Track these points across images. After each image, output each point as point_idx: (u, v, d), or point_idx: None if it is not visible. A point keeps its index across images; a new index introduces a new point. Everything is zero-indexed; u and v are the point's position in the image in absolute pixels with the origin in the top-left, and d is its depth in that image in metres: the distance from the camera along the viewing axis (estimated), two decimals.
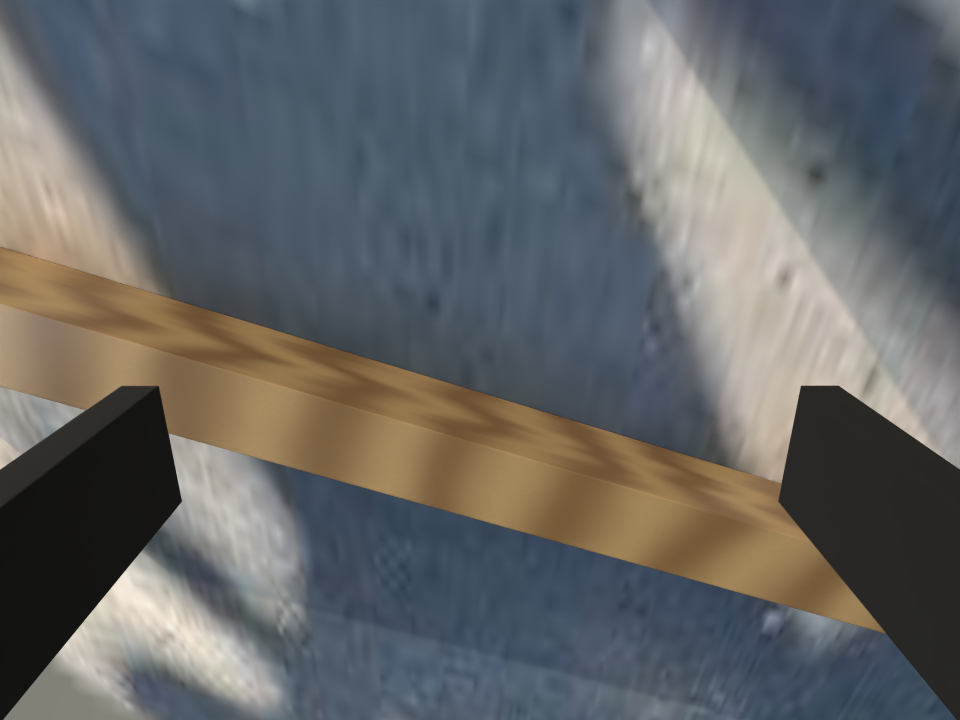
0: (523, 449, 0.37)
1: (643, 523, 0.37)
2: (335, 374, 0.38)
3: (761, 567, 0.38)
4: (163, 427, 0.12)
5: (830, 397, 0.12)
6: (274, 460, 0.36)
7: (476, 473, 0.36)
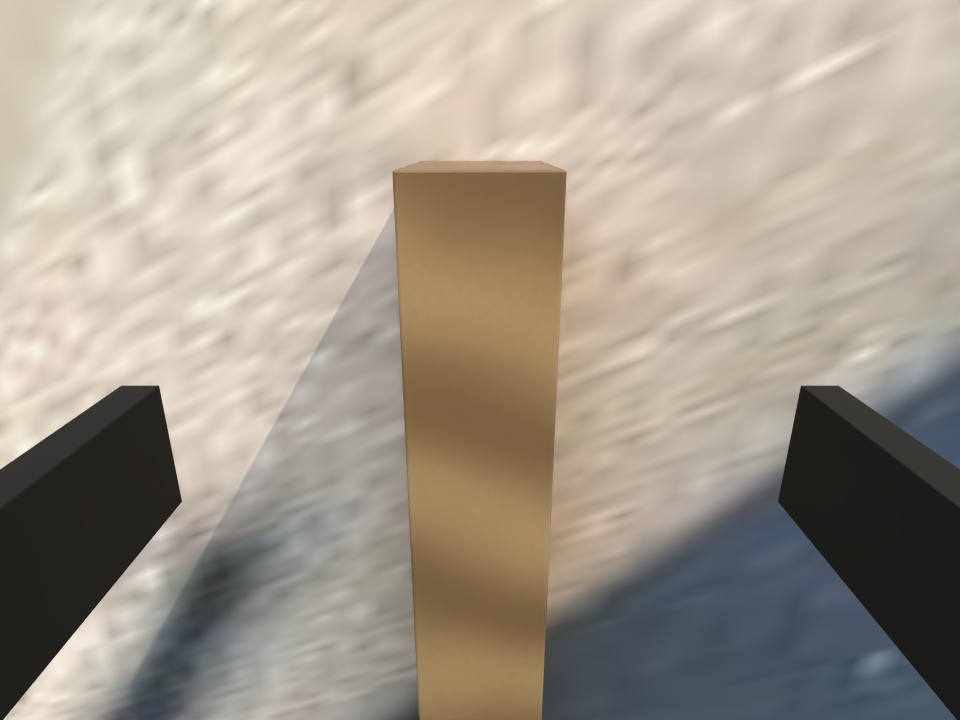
0: None
1: None
2: None
3: None
4: (162, 427, 0.12)
5: (830, 397, 0.12)
6: None
7: None
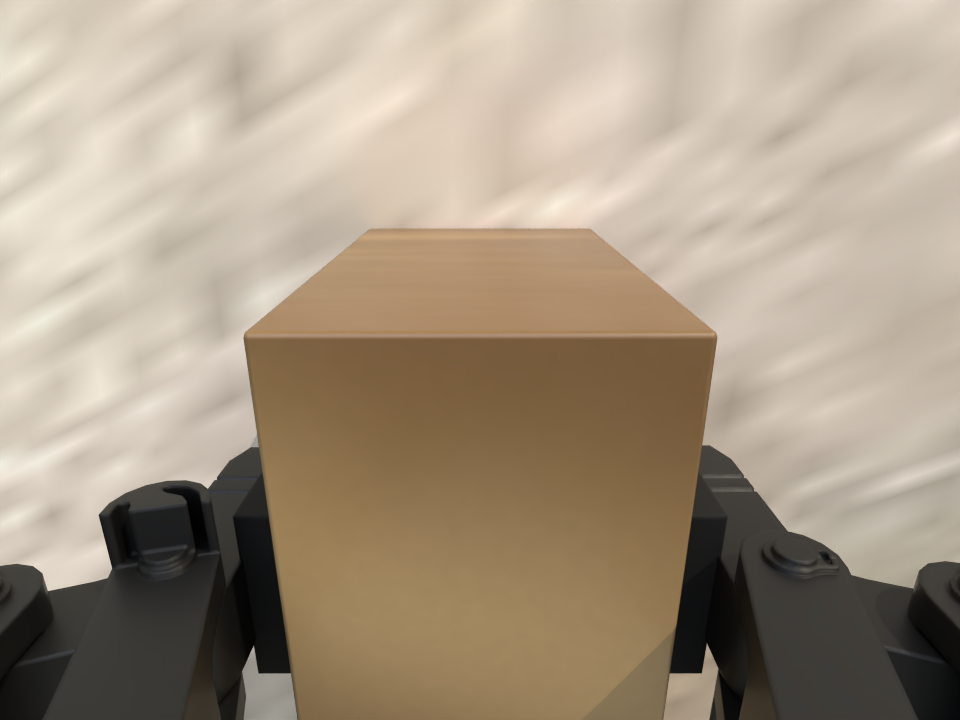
0: None
1: None
2: None
3: None
4: None
5: None
6: None
7: None
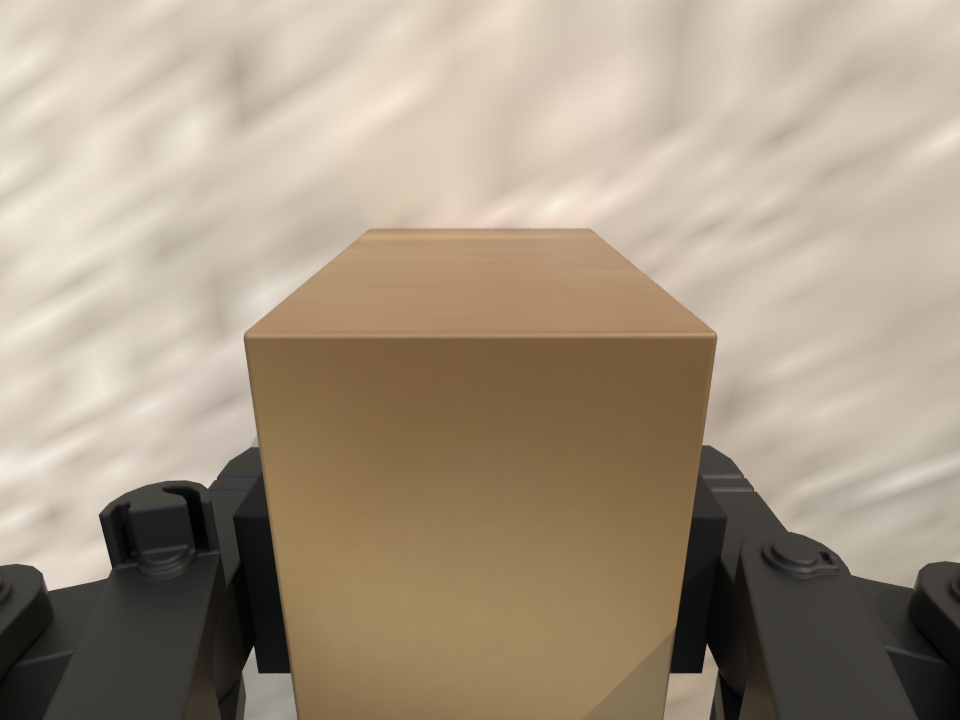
0: None
1: None
2: None
3: None
4: None
5: None
6: None
7: None
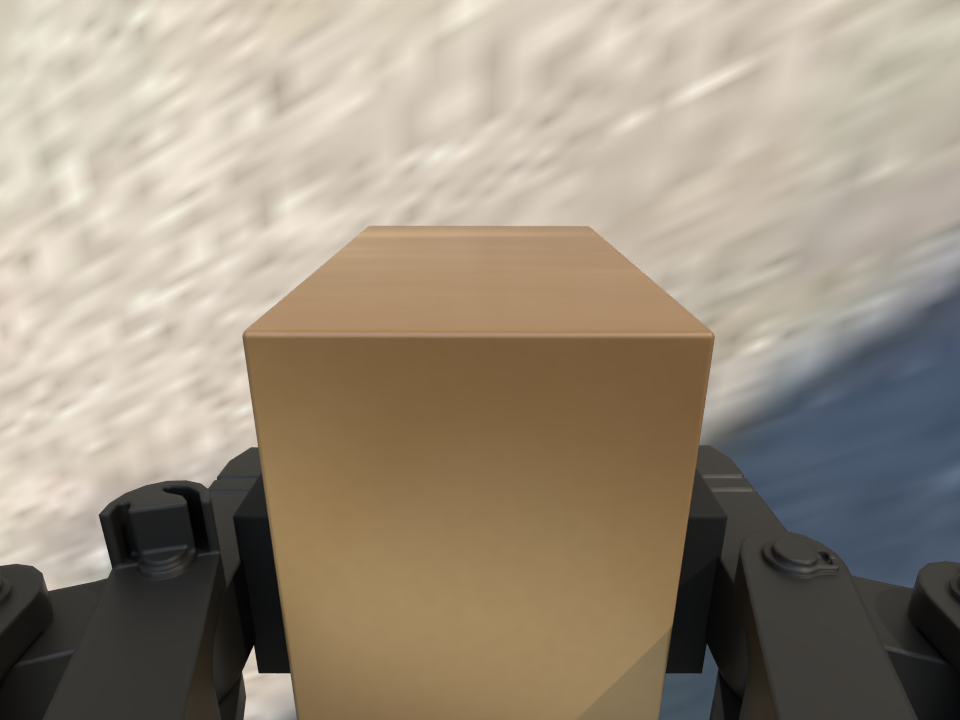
0: None
1: None
2: None
3: None
4: None
5: None
6: None
7: None
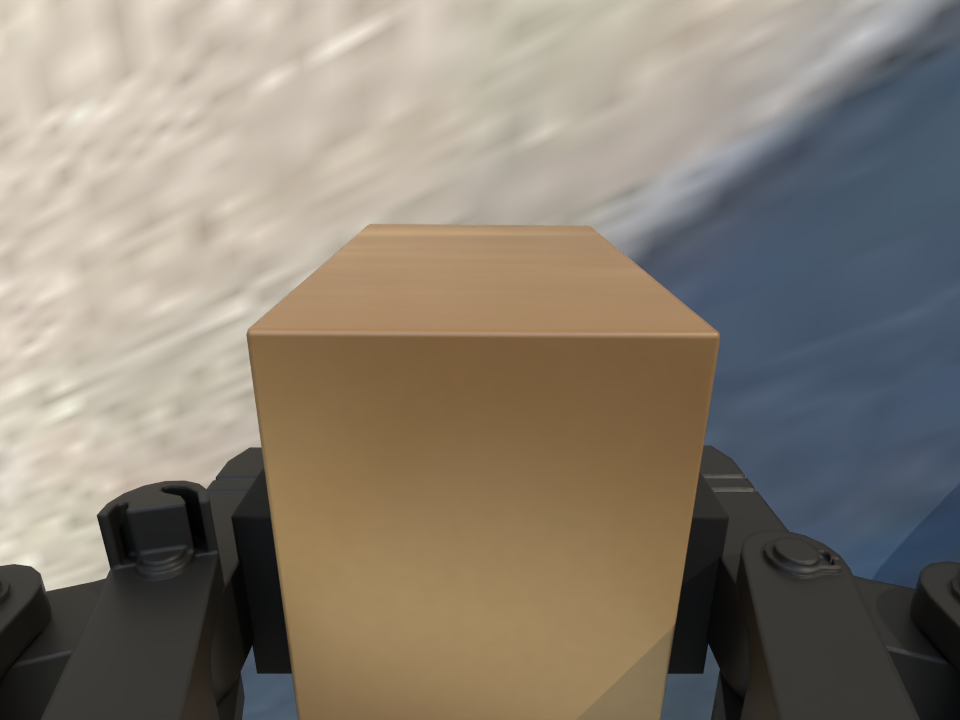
0: None
1: None
2: None
3: None
4: None
5: None
6: None
7: None
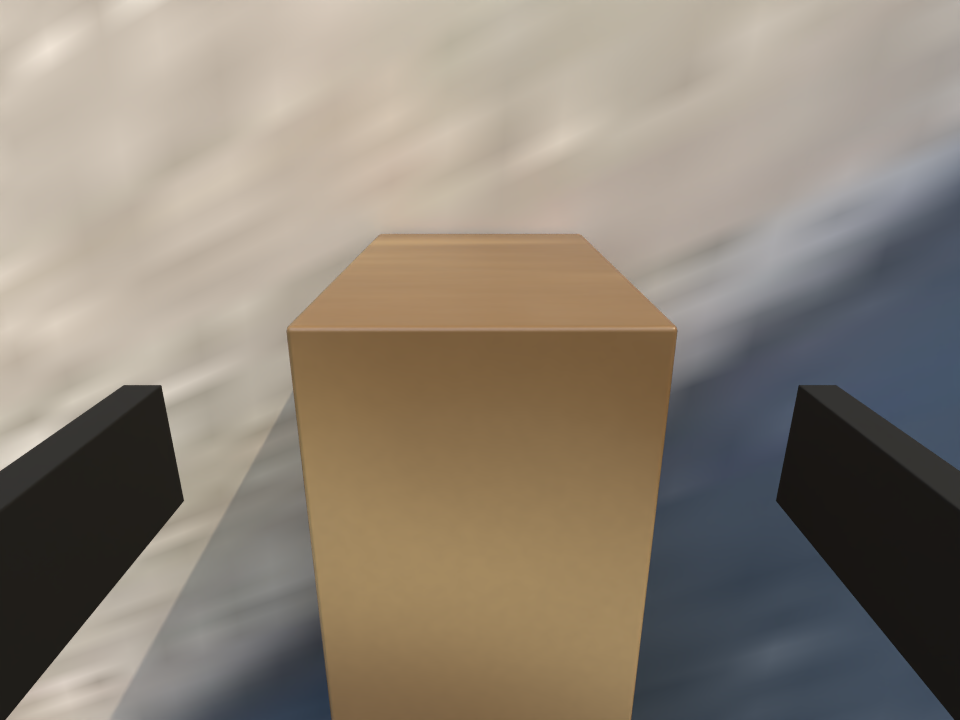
0: None
1: None
2: None
3: None
4: (165, 426, 0.12)
5: (827, 396, 0.12)
6: None
7: None
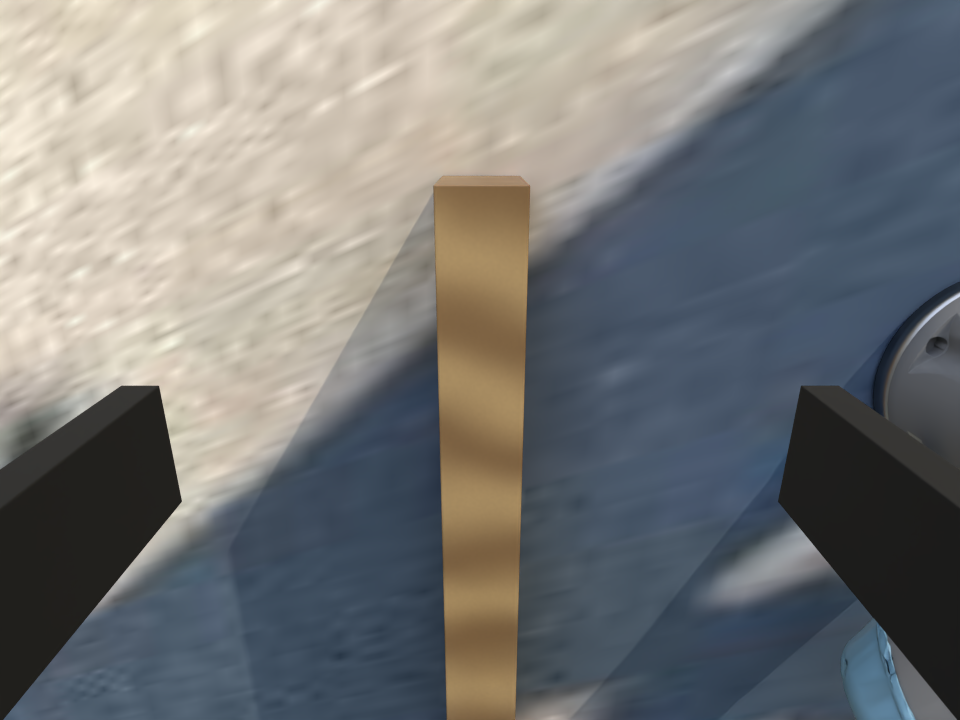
0: None
1: None
2: None
3: None
4: (162, 427, 0.12)
5: (830, 397, 0.12)
6: (448, 700, 0.44)
7: None
